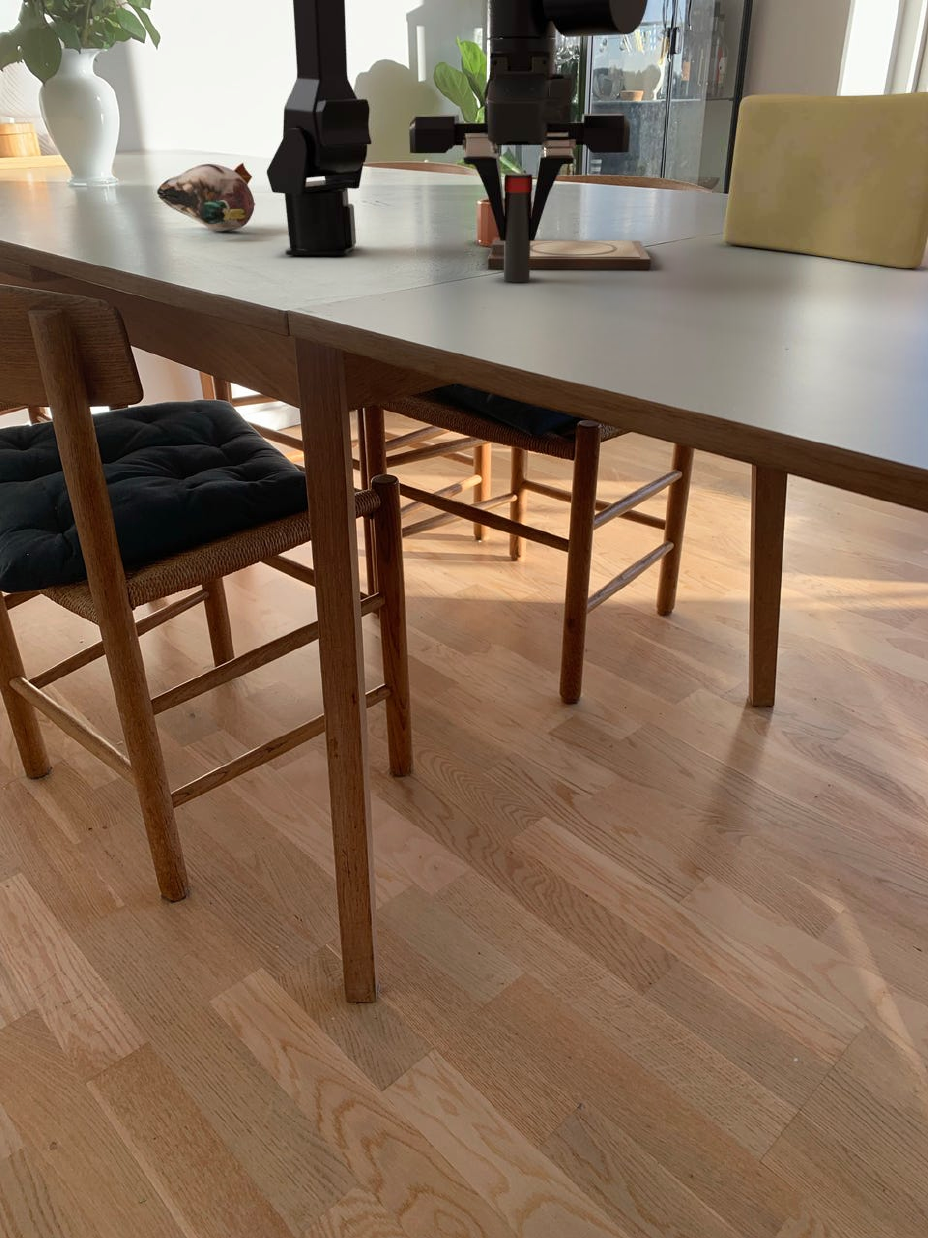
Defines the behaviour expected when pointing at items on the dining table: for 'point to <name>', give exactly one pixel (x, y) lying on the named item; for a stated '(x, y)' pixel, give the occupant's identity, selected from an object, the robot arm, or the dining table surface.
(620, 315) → the dining table surface
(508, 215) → the marker
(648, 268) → the wooden board with ring
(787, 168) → the cheese
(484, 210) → the pen pot
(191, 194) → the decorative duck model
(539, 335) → the dining table surface
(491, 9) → the robot arm
